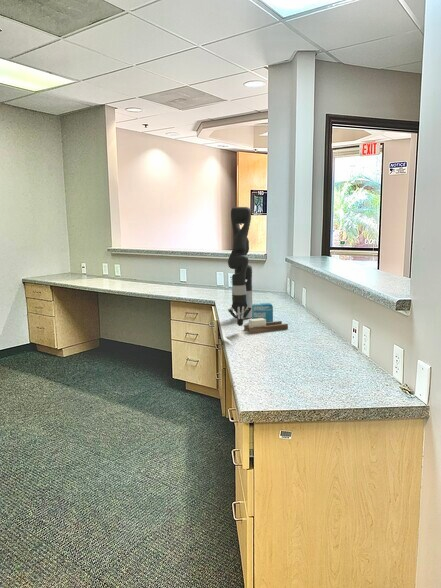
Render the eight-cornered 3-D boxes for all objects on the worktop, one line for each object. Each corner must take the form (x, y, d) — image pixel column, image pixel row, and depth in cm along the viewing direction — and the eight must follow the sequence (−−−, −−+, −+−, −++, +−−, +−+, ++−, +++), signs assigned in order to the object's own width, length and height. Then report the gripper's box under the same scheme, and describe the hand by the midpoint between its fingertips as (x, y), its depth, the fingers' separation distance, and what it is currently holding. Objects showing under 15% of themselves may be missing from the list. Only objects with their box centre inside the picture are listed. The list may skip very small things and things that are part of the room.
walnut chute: (243, 331, 231) (243, 324, 231) (280, 327, 238) (280, 320, 238) (250, 336, 222) (250, 328, 221) (288, 331, 229) (288, 324, 228)
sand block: (248, 330, 229) (248, 319, 228) (262, 328, 232) (262, 317, 231) (252, 332, 225) (252, 321, 224) (266, 330, 227) (266, 319, 226)
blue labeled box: (252, 325, 247) (252, 304, 245) (252, 323, 251) (251, 303, 249) (273, 324, 246) (272, 304, 245) (272, 322, 251) (272, 302, 249)
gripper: (248, 291, 228) (248, 322, 230) (224, 293, 223) (226, 325, 226) (253, 293, 220) (254, 325, 223) (229, 295, 216) (230, 328, 219)
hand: (240, 325), depth 225 cm, fingers closed
